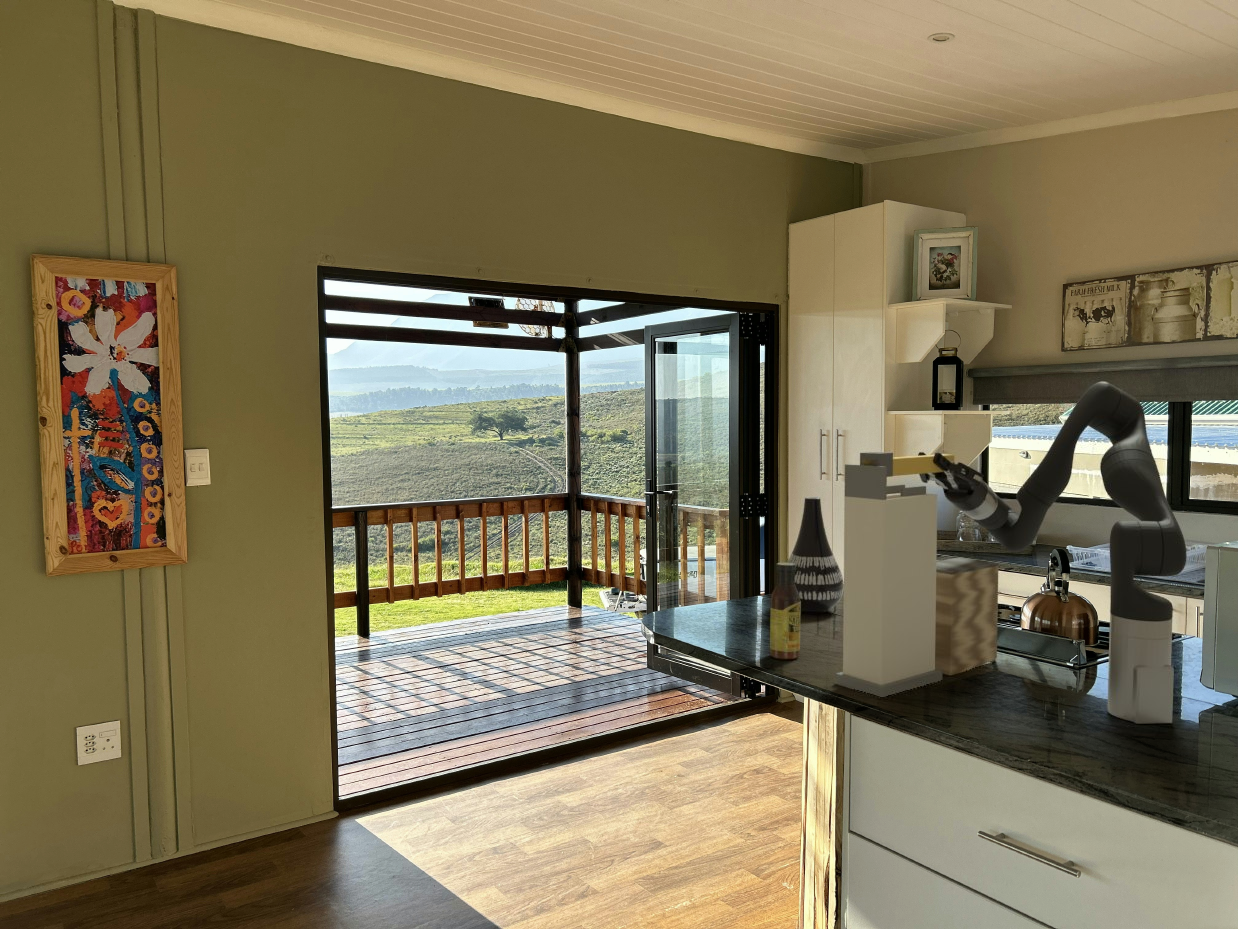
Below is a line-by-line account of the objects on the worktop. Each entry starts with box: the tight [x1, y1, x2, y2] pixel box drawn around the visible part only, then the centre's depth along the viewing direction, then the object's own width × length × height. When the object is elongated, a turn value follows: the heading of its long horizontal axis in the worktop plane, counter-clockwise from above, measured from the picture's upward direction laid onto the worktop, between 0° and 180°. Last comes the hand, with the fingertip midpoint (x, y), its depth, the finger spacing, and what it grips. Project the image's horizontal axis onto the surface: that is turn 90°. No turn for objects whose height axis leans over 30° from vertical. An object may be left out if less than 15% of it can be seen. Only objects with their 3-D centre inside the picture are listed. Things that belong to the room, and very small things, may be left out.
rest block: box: [935, 557, 1000, 676], centre depth 189 cm, size 16×9×21 cm, turn 126°
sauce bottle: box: [769, 562, 801, 660], centre depth 195 cm, size 6×6×20 cm
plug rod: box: [859, 451, 955, 478], centre depth 178 cm, size 24×4×4 cm, turn 126°
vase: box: [786, 496, 844, 615], centre depth 237 cm, size 16×16×30 cm
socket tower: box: [834, 463, 943, 698], centre depth 176 cm, size 18×11×42 cm, turn 126°
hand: (927, 456), depth 181 cm, fingers closed on plug rod, 3 cm apart
